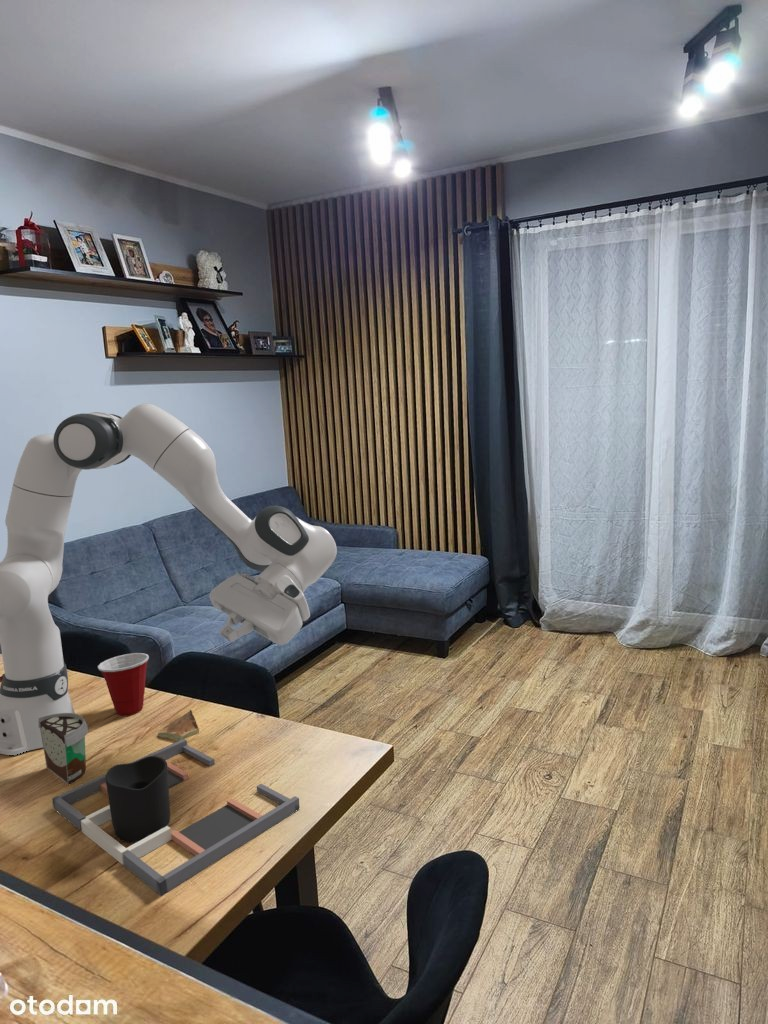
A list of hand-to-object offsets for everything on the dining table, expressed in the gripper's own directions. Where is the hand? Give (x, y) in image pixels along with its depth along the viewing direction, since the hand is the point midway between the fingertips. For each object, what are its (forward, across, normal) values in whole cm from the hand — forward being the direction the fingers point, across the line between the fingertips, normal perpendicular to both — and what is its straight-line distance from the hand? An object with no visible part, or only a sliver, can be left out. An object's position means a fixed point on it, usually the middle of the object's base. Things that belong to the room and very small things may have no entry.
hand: (225, 637), depth 130 cm
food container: (+32, -16, +16) cm, 39 cm away
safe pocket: (+34, +10, +7) cm, 36 cm away
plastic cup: (+15, -29, +30) cm, 44 cm away
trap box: (+26, +10, +11) cm, 30 cm away
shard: (+13, -12, +26) cm, 32 cm away
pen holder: (+31, +10, +9) cm, 34 cm away
